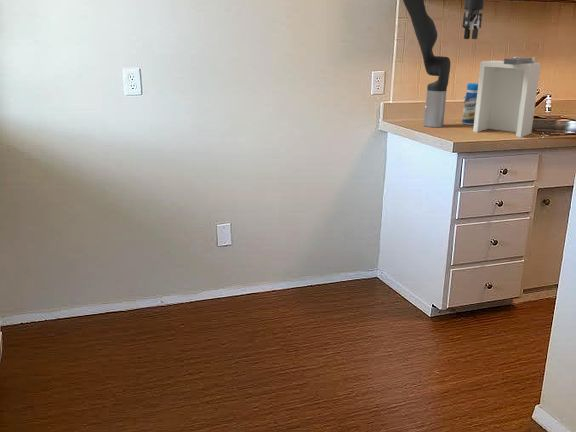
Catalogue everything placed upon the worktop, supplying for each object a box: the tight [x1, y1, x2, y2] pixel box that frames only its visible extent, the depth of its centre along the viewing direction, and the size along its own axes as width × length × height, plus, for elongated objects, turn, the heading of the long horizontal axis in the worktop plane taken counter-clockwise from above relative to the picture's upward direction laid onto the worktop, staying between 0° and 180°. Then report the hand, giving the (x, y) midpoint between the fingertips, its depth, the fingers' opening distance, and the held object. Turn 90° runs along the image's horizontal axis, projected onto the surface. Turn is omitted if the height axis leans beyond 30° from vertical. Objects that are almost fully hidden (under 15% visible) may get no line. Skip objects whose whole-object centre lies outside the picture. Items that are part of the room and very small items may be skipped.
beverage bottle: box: [461, 82, 478, 126], centre depth 313 cm, size 8×8×20 cm
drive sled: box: [503, 56, 533, 65], centre depth 275 cm, size 5×24×2 cm, turn 143°
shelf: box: [472, 56, 542, 138], centre depth 287 cm, size 22×16×34 cm
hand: (470, 39), depth 257 cm, fingers open, 8 cm apart
